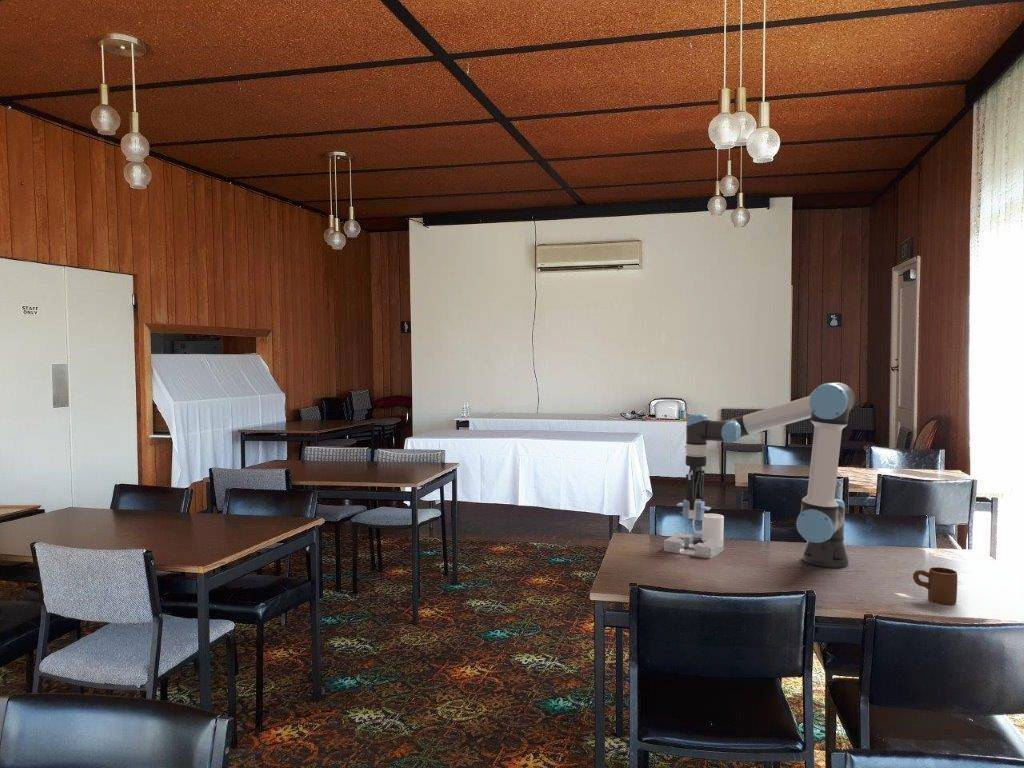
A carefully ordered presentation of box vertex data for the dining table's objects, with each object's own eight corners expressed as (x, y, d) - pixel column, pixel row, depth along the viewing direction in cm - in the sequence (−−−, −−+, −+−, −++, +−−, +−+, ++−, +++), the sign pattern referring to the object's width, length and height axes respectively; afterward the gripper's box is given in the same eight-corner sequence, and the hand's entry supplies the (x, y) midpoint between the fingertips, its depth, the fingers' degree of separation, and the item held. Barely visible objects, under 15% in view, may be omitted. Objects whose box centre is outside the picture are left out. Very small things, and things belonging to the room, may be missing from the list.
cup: (691, 537, 303) (692, 512, 302) (722, 539, 300) (723, 514, 299) (692, 542, 295) (692, 516, 294) (723, 544, 292) (724, 518, 291)
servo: (710, 519, 280) (711, 502, 279) (707, 521, 277) (707, 504, 276) (679, 514, 286) (680, 497, 286) (676, 516, 283) (676, 499, 283)
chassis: (723, 550, 283) (723, 539, 282) (710, 558, 271) (711, 547, 271) (677, 543, 293) (678, 532, 292) (663, 550, 281) (664, 540, 281)
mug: (915, 602, 225) (916, 571, 225) (908, 594, 232) (909, 564, 232) (960, 606, 222) (961, 575, 222) (952, 598, 229) (953, 568, 229)
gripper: (694, 451, 289) (692, 512, 290) (677, 456, 275) (676, 519, 276) (713, 453, 285) (711, 514, 286) (697, 458, 271) (696, 522, 272)
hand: (694, 517), depth 281 cm, fingers closed on servo, 4 cm apart
